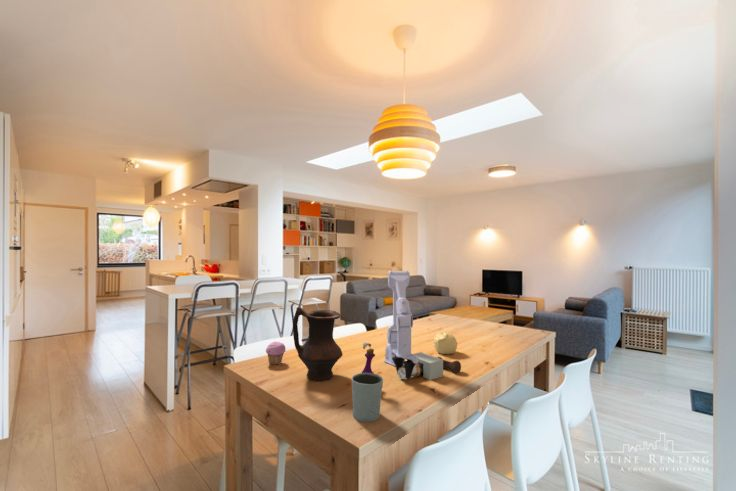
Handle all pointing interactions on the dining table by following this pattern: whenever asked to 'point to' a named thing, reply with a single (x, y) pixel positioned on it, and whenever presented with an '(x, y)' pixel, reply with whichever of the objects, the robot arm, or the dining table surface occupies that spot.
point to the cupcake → (275, 352)
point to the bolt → (452, 365)
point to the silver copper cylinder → (416, 371)
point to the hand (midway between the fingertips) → (404, 376)
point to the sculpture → (445, 343)
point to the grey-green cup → (366, 396)
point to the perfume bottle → (368, 358)
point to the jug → (318, 343)
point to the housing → (430, 365)
